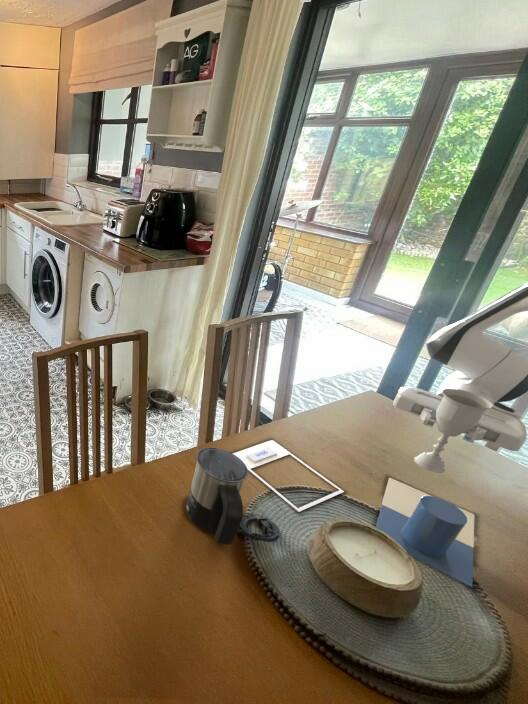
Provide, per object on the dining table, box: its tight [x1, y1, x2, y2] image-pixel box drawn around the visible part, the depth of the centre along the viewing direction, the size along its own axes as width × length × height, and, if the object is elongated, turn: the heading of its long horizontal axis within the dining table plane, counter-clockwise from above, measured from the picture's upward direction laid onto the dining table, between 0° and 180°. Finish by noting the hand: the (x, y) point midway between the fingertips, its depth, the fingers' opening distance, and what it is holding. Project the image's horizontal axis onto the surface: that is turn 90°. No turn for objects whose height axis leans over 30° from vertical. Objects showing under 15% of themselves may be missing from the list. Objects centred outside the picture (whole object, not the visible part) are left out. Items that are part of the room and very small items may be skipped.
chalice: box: [413, 388, 493, 474], centre depth 87 cm, size 7×7×18 cm
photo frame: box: [232, 439, 345, 513], centre depth 96 cm, size 15×1×18 cm
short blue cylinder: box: [402, 495, 467, 557], centre depth 78 cm, size 6×6×9 cm
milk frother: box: [185, 447, 281, 546], centre depth 82 cm, size 14×16×15 cm
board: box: [375, 477, 476, 588], centre depth 84 cm, size 22×14×1 cm, turn 134°
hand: (448, 430), depth 86 cm, fingers closed on chalice, 5 cm apart
